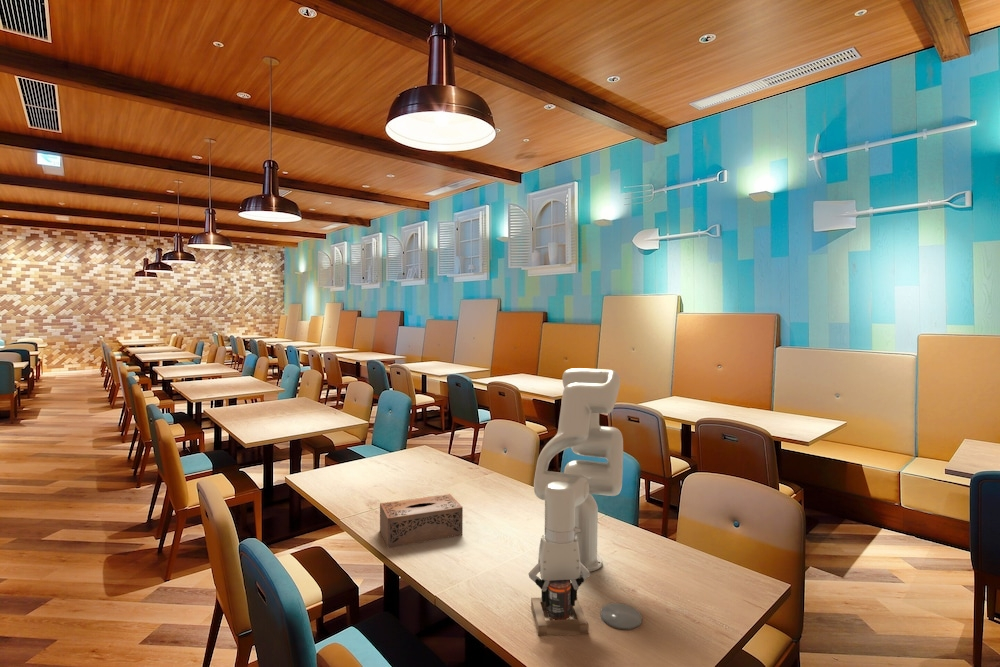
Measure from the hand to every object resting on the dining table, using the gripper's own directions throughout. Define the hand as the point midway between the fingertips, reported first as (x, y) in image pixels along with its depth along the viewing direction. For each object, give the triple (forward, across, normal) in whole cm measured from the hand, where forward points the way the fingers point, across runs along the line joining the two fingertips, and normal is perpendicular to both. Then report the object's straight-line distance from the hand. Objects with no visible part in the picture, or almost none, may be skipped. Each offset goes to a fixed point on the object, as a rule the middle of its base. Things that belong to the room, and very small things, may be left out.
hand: (559, 602), depth 127 cm
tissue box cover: (+5, +38, -54) cm, 66 cm away
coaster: (+4, -16, 0) cm, 16 cm away
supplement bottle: (+3, 0, 0) cm, 3 cm away
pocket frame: (+4, 0, 0) cm, 4 cm away
